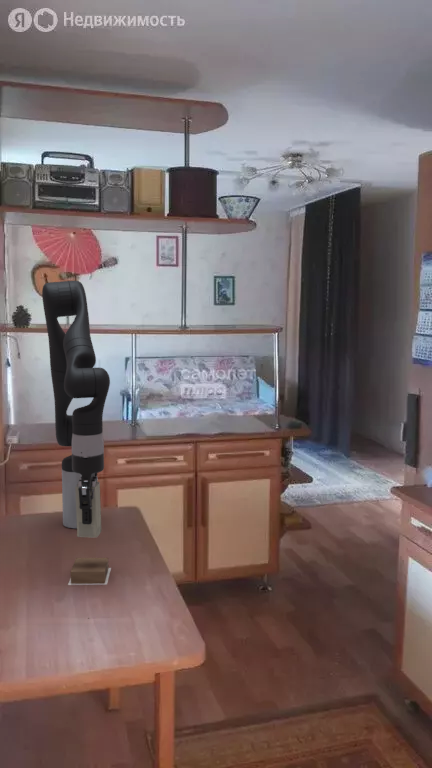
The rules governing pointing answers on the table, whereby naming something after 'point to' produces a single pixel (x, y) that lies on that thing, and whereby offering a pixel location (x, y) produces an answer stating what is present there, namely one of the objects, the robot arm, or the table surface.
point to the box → (95, 526)
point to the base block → (89, 570)
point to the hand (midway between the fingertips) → (88, 519)
